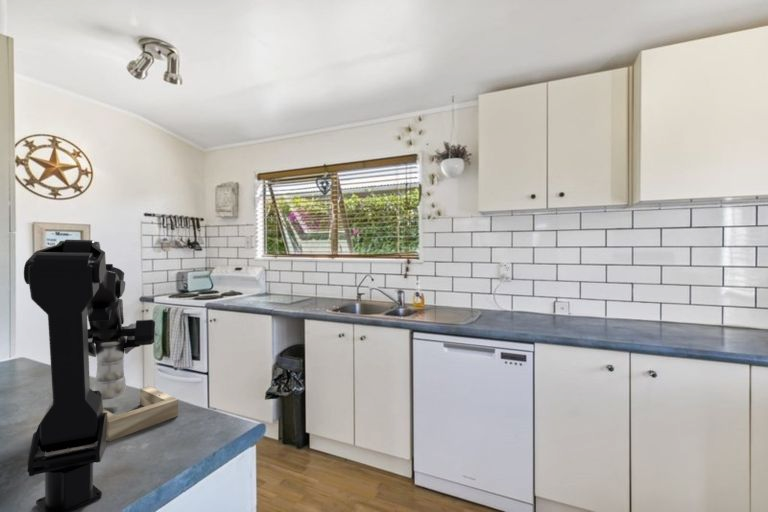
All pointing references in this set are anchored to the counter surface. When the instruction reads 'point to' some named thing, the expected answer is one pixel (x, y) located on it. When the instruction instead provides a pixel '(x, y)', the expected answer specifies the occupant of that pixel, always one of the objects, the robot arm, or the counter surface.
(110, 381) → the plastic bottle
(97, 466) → the counter surface
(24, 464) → the counter surface
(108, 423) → the bracket
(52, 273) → the robot arm
